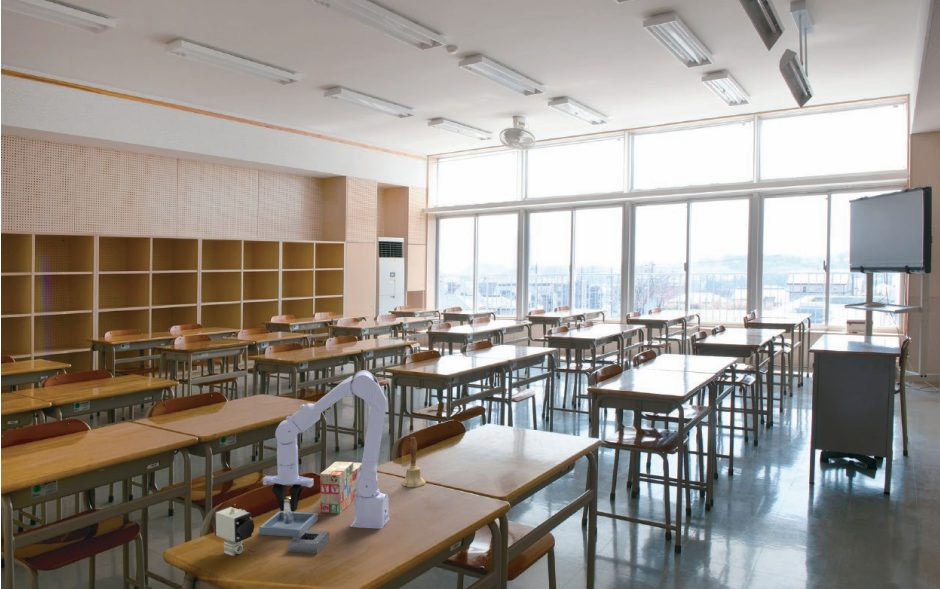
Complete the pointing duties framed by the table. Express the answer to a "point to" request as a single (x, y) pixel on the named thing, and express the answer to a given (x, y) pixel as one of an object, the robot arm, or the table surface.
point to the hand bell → (413, 469)
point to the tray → (280, 529)
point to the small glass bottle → (287, 510)
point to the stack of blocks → (338, 486)
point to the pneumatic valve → (233, 528)
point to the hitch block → (308, 541)
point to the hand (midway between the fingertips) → (288, 510)
